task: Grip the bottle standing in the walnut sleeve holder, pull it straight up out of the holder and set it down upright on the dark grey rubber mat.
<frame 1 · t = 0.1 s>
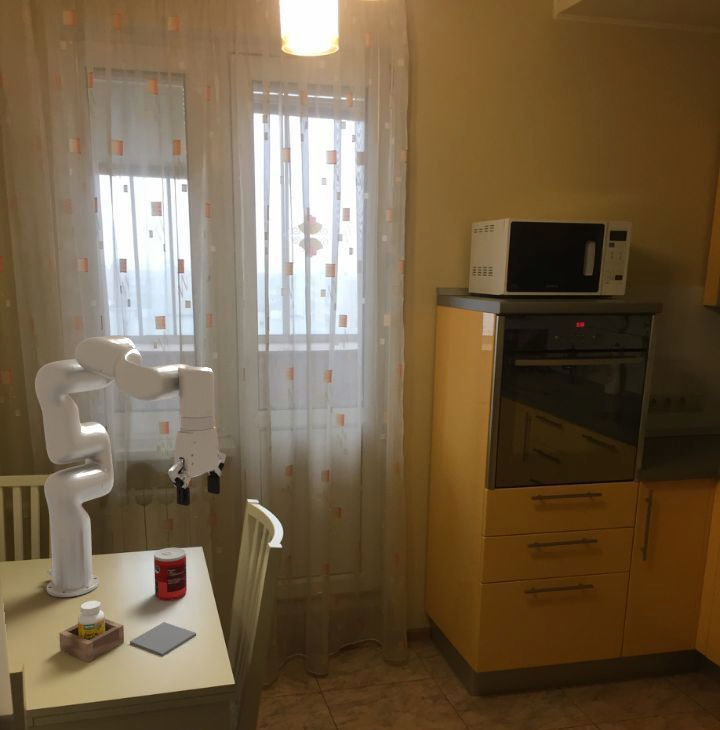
hand: (199, 498, 147), 31 cm above the table, tool pointing down, fingers open, 9 cm apart
sleeve holder: (92, 646, 144), on the table
canned food: (171, 595, 169), on the table
supplement bottle: (92, 647, 144), resting in sleeve holder
rubber mat: (163, 639, 147), on the table
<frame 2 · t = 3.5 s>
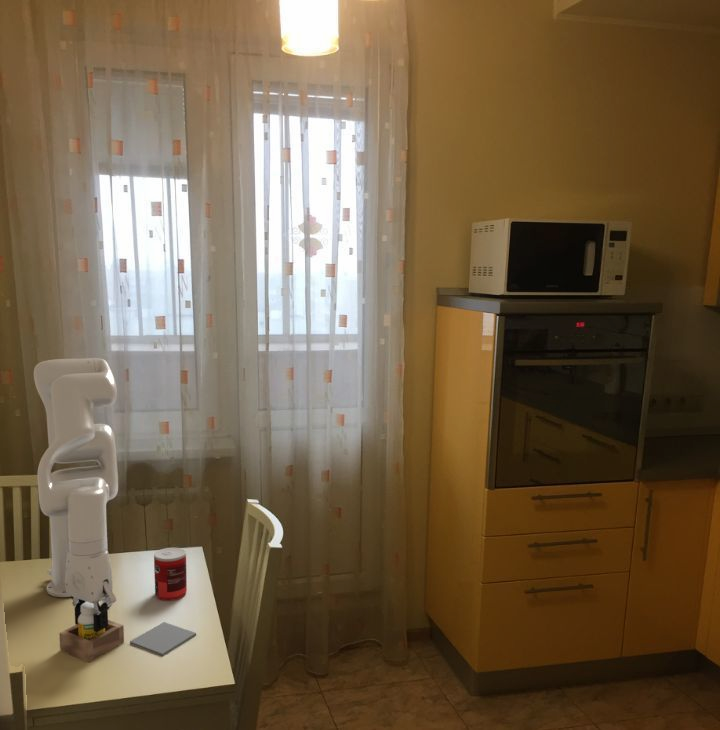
hand: (91, 624, 143), 5 cm above the table, tool pointing down, fingers closed on supplement bottle, 5 cm apart
supplement bottle: (92, 647, 144), resting in sleeve holder, touching gripper
everything else where it was.
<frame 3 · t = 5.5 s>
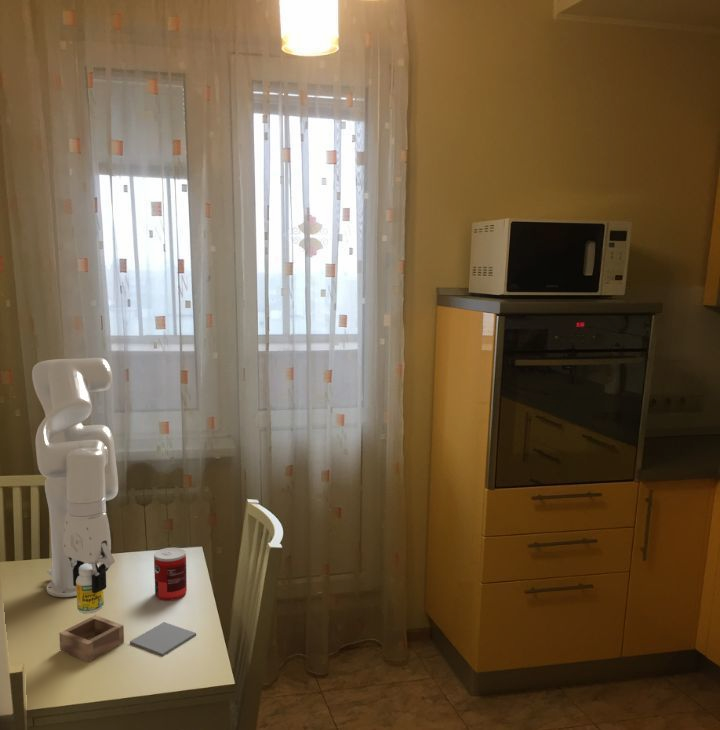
hand: (89, 586, 143), 13 cm above the table, tool pointing down, fingers closed on supplement bottle, 5 cm apart
supplement bottle: (90, 609, 143), point 8 cm above the table, touching gripper
everything else where it was.
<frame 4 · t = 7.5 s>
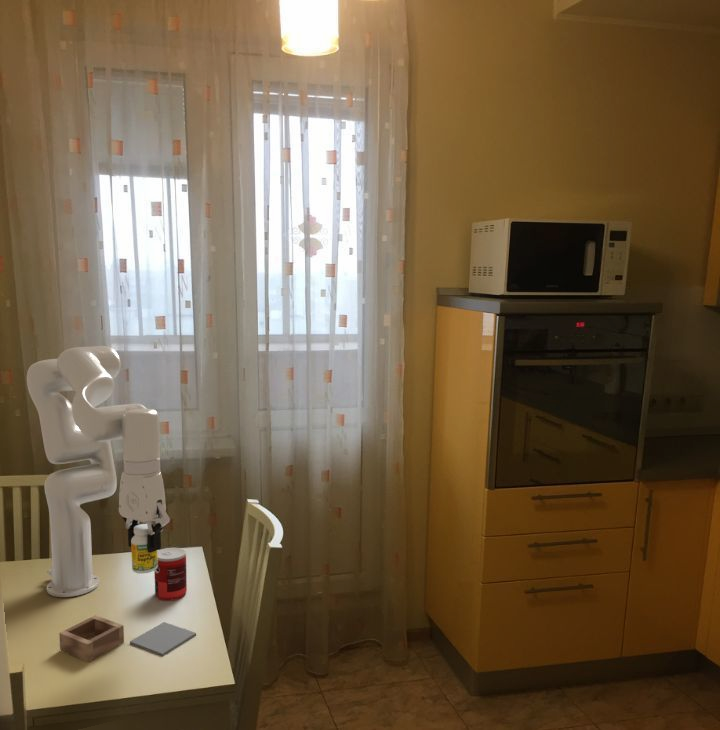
hand: (144, 546, 144), 22 cm above the table, tool pointing down, fingers closed on supplement bottle, 5 cm apart
supplement bottle: (145, 569, 144), point 16 cm above the table, touching gripper
everything else where it was.
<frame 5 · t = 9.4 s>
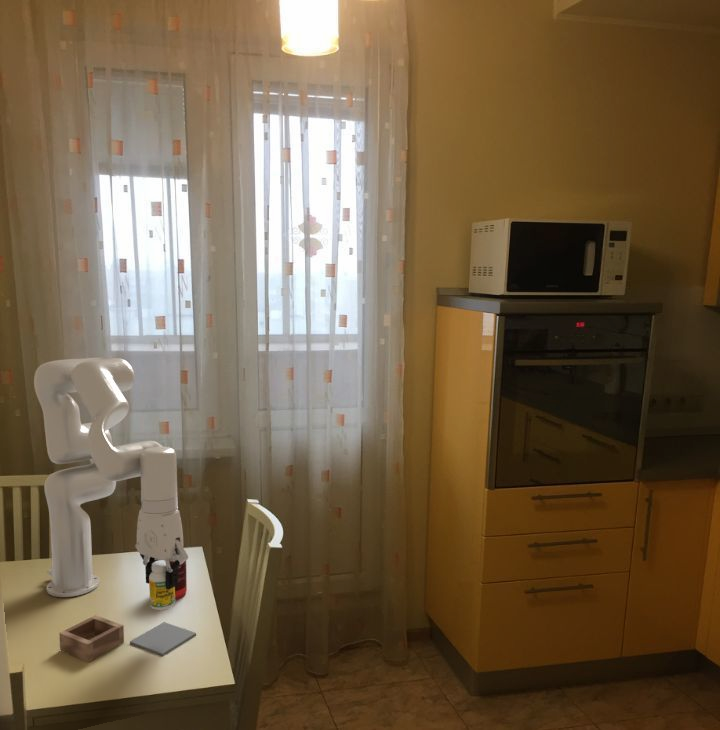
hand: (162, 583, 145), 13 cm above the table, tool pointing down, fingers closed on supplement bottle, 5 cm apart
supplement bottle: (162, 605, 146), point 8 cm above the table, touching gripper
everything else where it was.
when the fingers open (7 cm above the table, at t = 11.4 s): supplement bottle drops 1 cm, resting on rubber mat.
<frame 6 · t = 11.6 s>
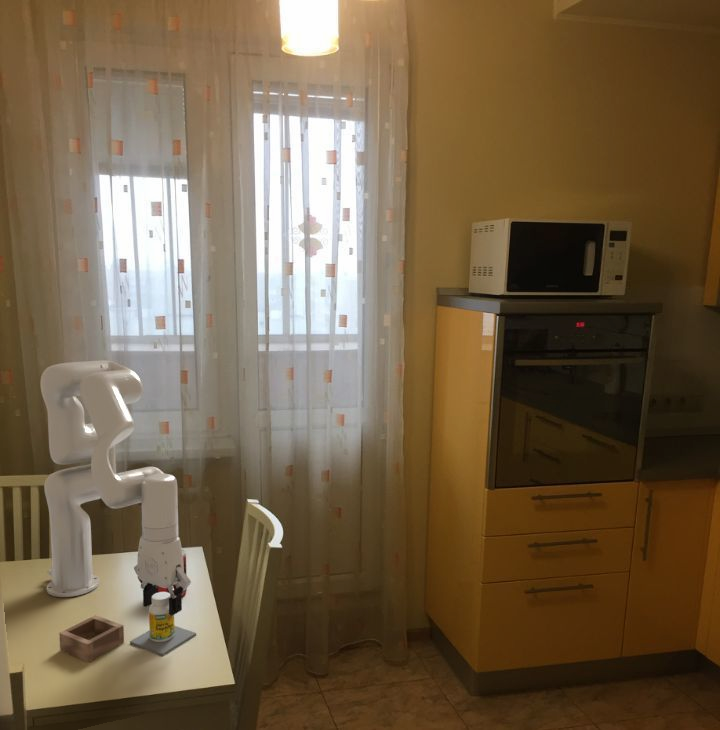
hand: (162, 608, 146), 7 cm above the table, tool pointing down, fingers open, 7 cm apart
supplement bottle: (162, 637, 147), resting on rubber mat
everything else where it was.
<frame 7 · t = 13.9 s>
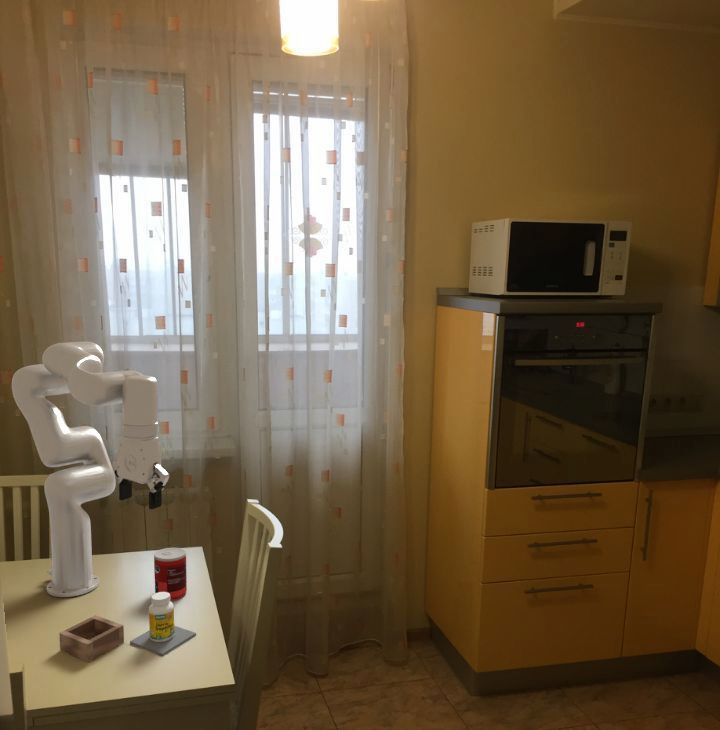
hand: (140, 503, 151), 29 cm above the table, tool pointing down, fingers open, 9 cm apart
nothing on the table moved.
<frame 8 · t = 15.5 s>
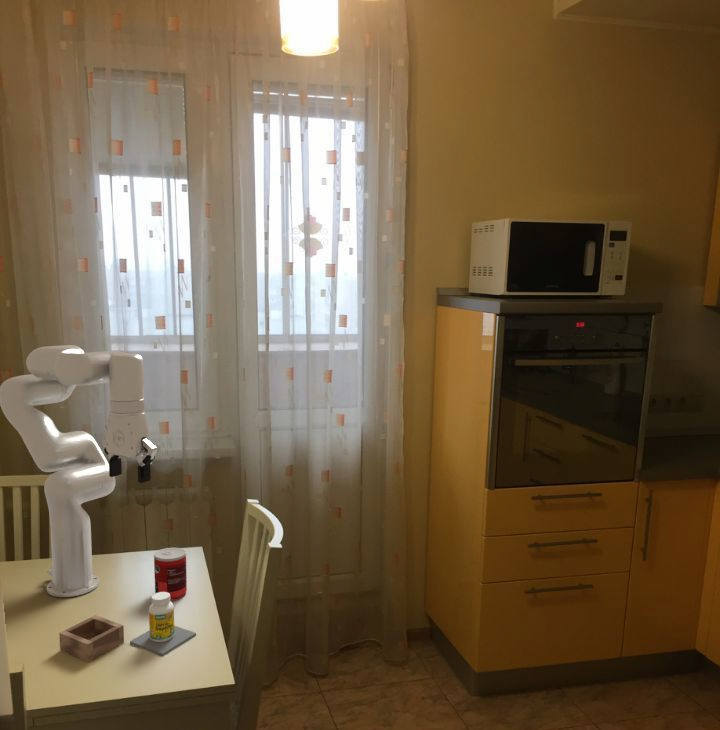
hand: (129, 478, 155), 33 cm above the table, tool pointing down, fingers open, 9 cm apart
nothing on the table moved.
at the end: supplement bottle inside the target area on the rubber mat (0.3 cm from its centre), point 0.3 cm above the rubber mat's base; supplement bottle tilted 0°; the gripper is holding nothing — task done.
